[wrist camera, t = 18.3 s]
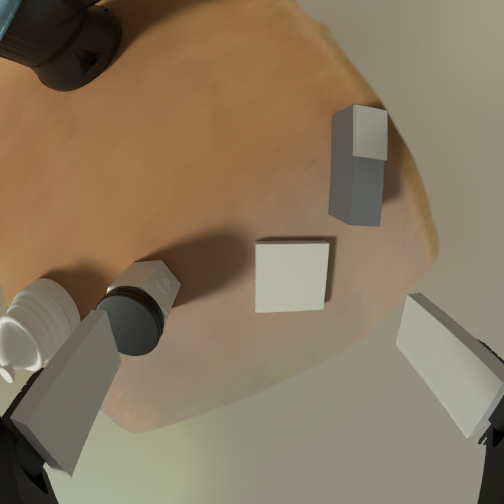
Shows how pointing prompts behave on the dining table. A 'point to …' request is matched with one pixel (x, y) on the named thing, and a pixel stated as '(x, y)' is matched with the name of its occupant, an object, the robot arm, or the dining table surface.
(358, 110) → the grey rectangular block
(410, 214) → the dining table surface
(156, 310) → the jar
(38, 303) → the honey pot
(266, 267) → the tile
